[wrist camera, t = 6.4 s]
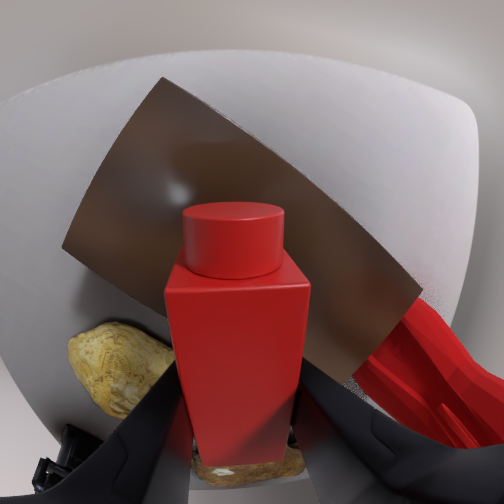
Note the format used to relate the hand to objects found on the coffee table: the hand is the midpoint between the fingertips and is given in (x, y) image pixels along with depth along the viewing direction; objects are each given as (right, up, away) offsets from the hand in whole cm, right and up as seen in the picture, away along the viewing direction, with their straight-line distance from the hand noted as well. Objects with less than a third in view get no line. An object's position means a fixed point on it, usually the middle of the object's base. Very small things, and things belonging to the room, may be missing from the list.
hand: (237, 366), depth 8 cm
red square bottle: (0, 0, +1) cm, 1 cm away
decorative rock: (+1, -21, +19) cm, 28 cm away
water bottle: (+13, -4, +16) cm, 21 cm away
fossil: (-10, -6, +13) cm, 18 cm away
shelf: (0, +4, +11) cm, 12 cm away
